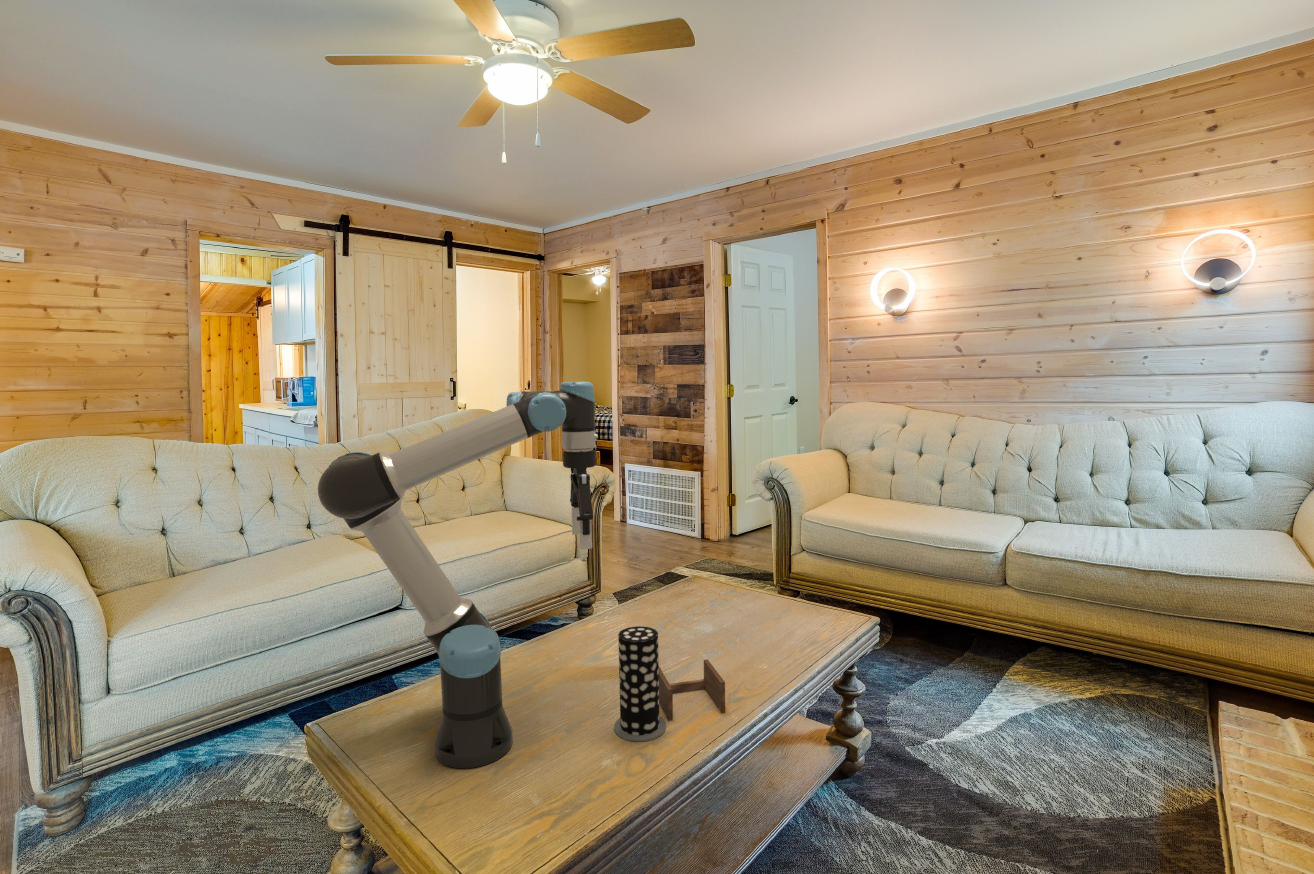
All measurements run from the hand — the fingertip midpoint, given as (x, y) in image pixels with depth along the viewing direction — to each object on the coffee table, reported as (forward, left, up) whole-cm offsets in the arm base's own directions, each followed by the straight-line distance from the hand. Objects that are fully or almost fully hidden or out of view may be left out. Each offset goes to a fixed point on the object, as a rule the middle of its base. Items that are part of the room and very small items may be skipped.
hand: (581, 541), depth 151 cm
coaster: (+9, -18, -37) cm, 42 cm away
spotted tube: (+9, -18, -36) cm, 42 cm away
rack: (+22, -11, -37) cm, 44 cm away
